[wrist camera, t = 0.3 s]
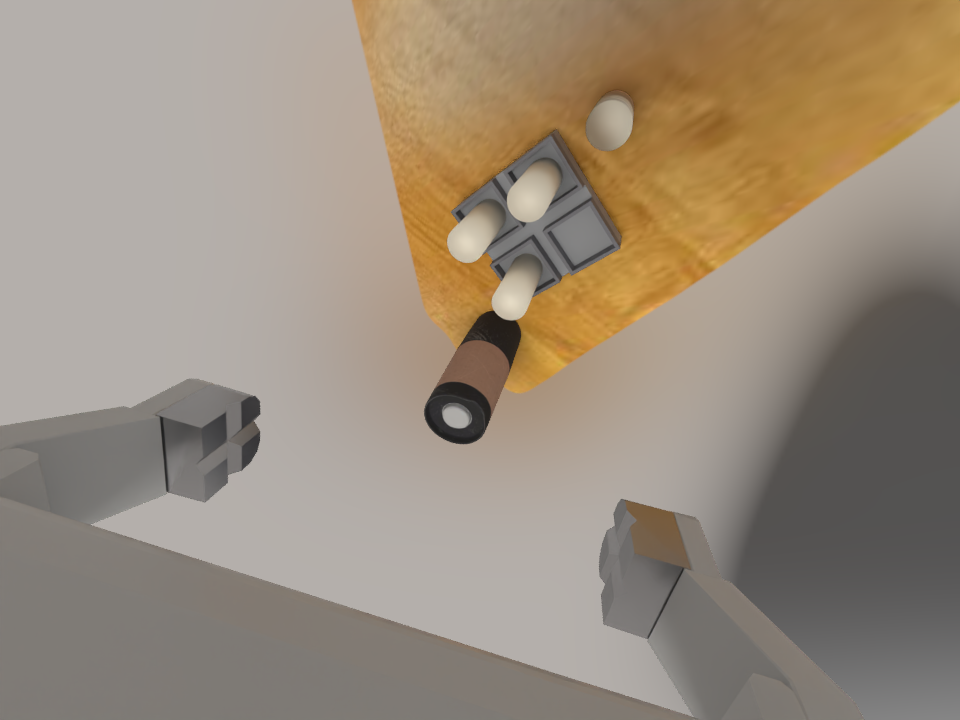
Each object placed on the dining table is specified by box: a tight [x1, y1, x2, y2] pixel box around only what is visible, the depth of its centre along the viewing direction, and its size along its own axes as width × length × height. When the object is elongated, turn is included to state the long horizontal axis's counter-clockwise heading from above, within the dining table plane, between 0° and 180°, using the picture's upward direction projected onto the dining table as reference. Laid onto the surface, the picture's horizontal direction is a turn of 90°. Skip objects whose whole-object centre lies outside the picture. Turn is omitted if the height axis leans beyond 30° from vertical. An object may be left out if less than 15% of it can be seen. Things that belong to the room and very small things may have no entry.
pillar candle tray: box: [447, 129, 621, 320], centre depth 52 cm, size 14×14×12 cm
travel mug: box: [424, 311, 521, 444], centre depth 60 cm, size 8×8×20 cm
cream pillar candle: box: [586, 90, 634, 151], centre depth 44 cm, size 4×4×10 cm
